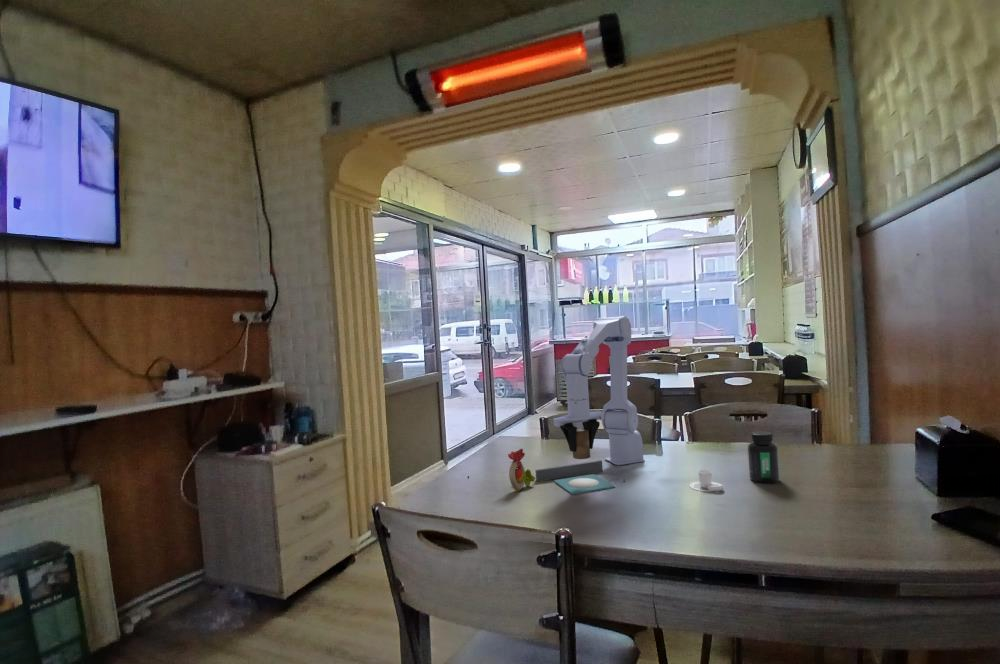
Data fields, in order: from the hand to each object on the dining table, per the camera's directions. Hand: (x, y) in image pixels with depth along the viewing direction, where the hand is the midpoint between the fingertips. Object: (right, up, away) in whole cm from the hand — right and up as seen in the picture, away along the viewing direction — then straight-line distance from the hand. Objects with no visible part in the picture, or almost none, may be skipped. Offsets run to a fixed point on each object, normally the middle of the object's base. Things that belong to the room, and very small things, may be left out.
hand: (581, 449), depth 138 cm
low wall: (-2, -9, +9) cm, 13 cm away
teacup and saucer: (+28, -8, -10) cm, 31 cm away
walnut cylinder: (0, -2, 0) cm, 2 cm away
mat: (+1, -9, 0) cm, 9 cm away
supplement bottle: (+46, -7, -6) cm, 47 cm away
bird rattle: (-16, -11, +1) cm, 19 cm away
